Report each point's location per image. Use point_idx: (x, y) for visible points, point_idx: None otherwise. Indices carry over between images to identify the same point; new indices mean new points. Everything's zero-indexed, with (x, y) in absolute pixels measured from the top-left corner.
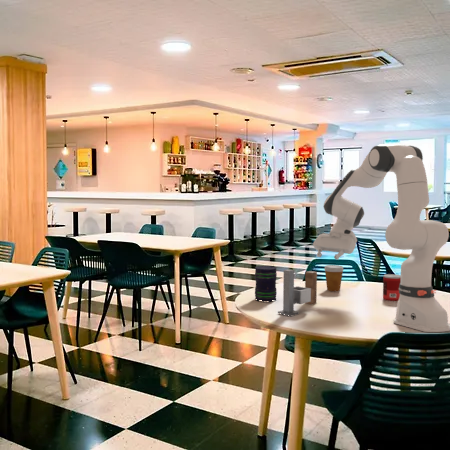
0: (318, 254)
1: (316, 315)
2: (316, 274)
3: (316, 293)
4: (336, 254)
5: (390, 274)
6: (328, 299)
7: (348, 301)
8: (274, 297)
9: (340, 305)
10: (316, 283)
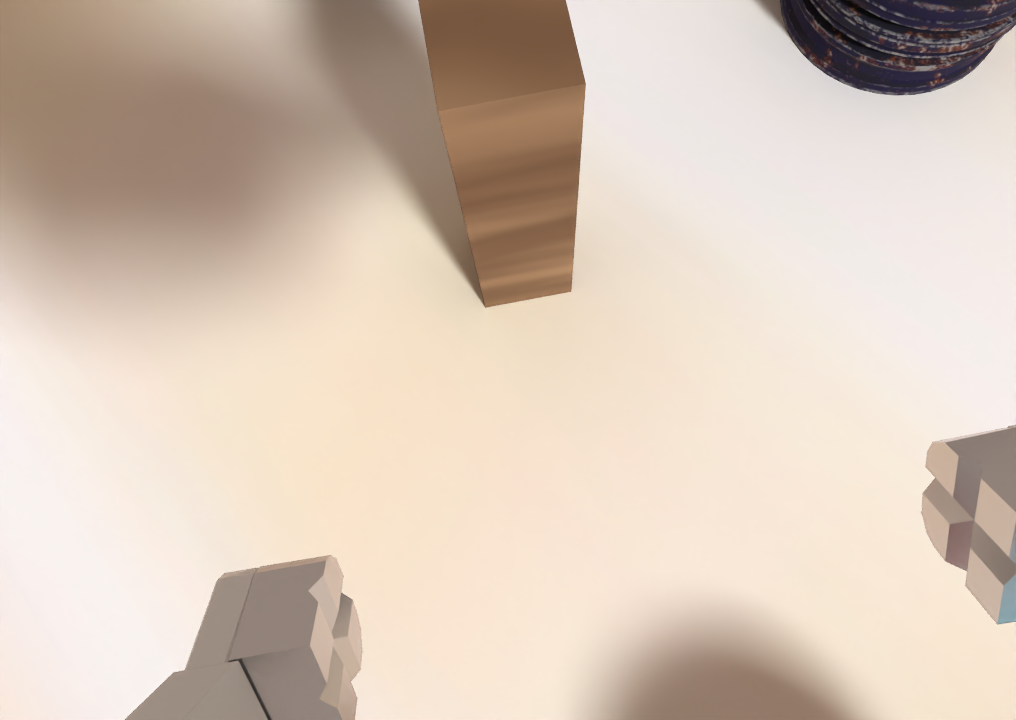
0: (987, 437)
1: (165, 5)
2: (442, 126)
3: (475, 265)
4: (260, 648)
5: None
6: (541, 556)
7: None
8: (799, 3)
9: (256, 441)
10: (461, 204)
